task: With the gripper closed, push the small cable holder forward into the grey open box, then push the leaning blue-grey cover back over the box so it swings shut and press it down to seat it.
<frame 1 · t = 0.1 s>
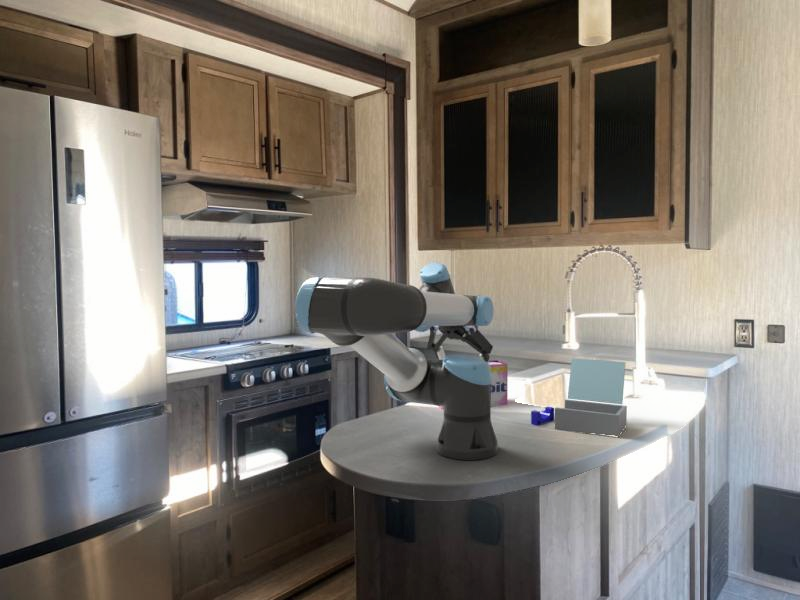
hand: (465, 366, 181), 15 cm above the table, tool tilted 35°, fingers open, 13 cm apart
grey open box: (588, 427, 169), on the table
gum box: (471, 405, 198), on the table
cover: (596, 380, 175), point 12 cm above the table, hinge at 110.0°
cable holder: (540, 423, 176), on the table
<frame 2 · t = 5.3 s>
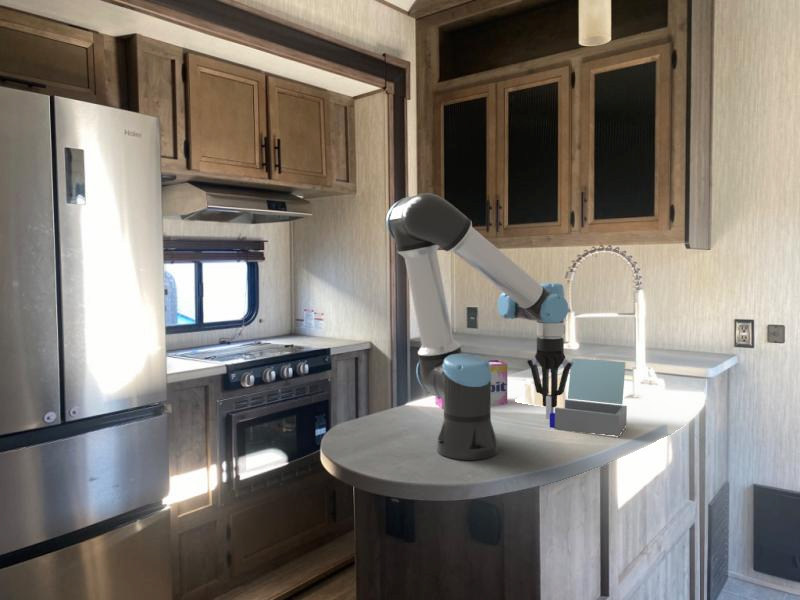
hand: (549, 417, 174), 1 cm above the table, tool pointing down, fingers closed
cable holder: (557, 425, 173), on the table, touching gripper
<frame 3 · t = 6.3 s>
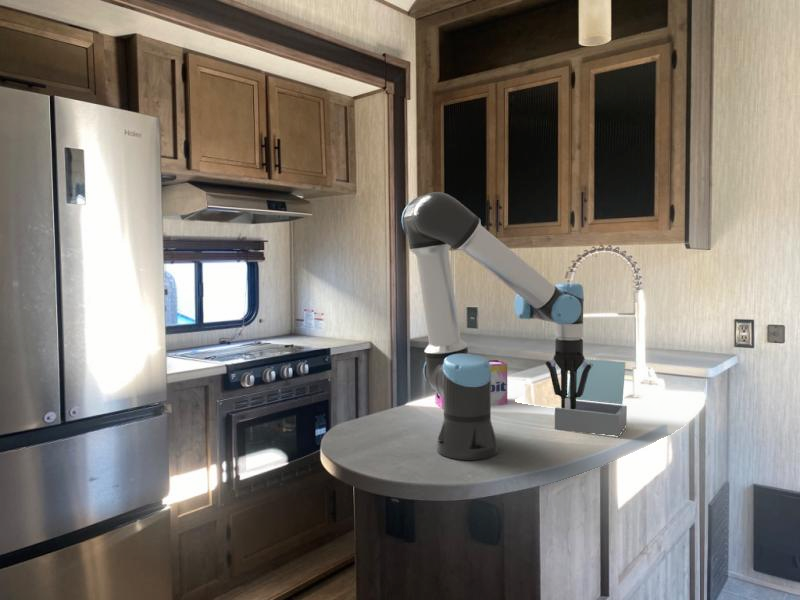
hand: (568, 420, 172), 1 cm above the table, tool pointing down, fingers closed
cable holder: (576, 428, 170), resting in grey open box, touching gripper
everything else where it was.
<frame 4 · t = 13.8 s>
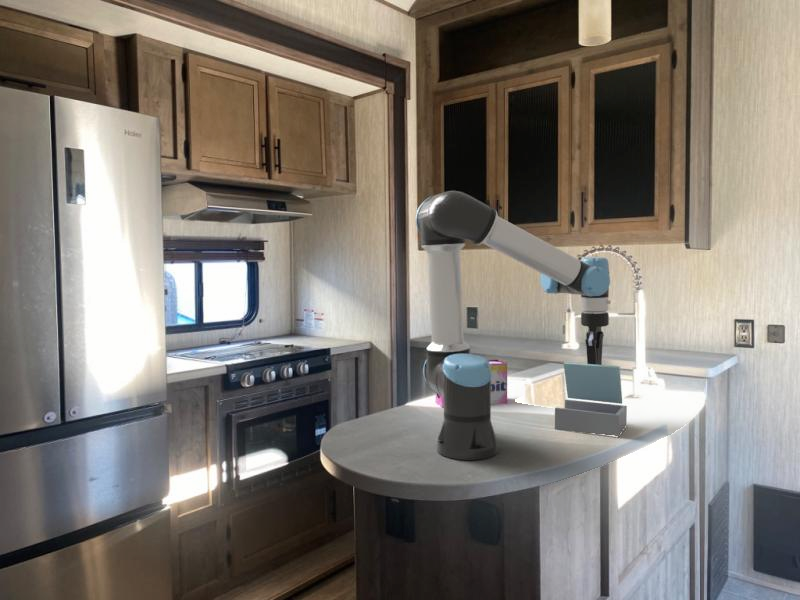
hand: (594, 392, 174), 9 cm above the table, tool pointing down, fingers closed
cover: (592, 382, 172), point 12 cm above the table, hinge at 66.6°, touching gripper
cable holder: (592, 430, 168), resting in grey open box
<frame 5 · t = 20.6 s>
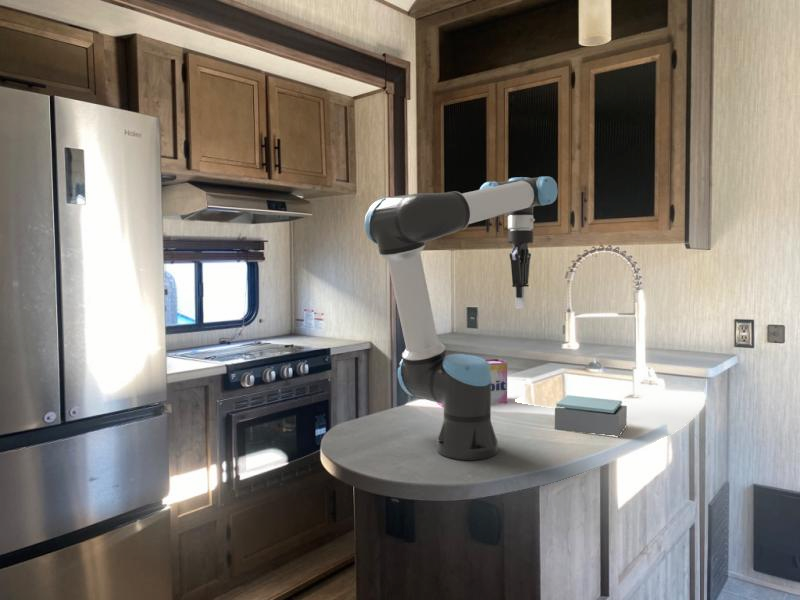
hand: (520, 308, 183), 32 cm above the table, tool pointing down, fingers closed
cover: (589, 403, 168), point 7 cm above the table, hinge at 0.5°
cable holder: (605, 431, 167), resting in grey open box
at the end: cable holder inside the target area on the grey open box (1.4 cm from its centre), point -0.5 cm above the grey open box's base; cover at +0° (first picture: +110°) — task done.
